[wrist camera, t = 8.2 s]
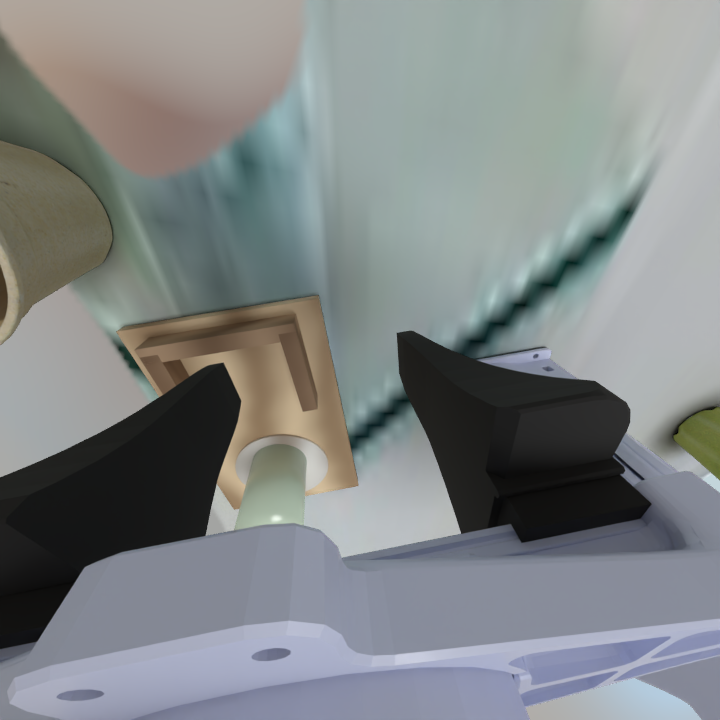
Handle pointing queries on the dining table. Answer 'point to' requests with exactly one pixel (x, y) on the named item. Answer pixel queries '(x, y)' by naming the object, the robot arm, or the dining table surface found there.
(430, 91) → the dining table surface
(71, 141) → the dining table surface
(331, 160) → the dining table surface
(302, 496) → the sage green cylinder
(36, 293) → the flower pot
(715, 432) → the plant pot
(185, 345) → the board
